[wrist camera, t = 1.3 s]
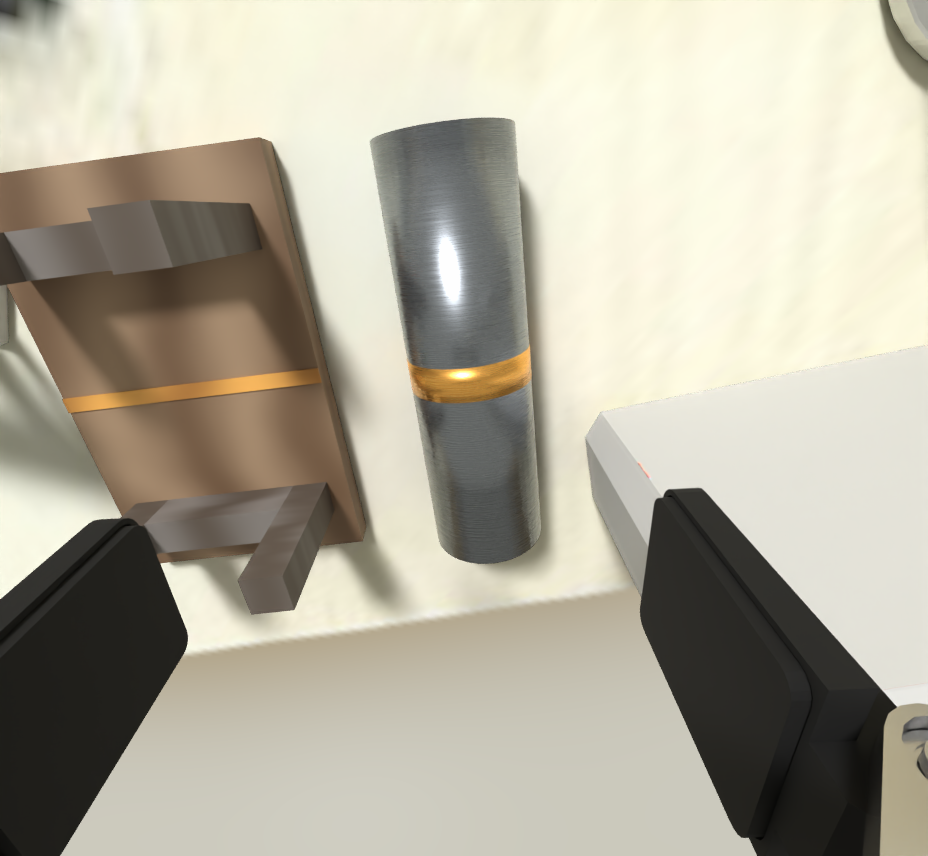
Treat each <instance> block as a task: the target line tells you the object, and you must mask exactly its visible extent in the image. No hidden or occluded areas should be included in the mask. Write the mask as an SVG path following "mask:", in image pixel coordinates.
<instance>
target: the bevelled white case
mask: <svg viewBox="0 0 928 856" xmlns="http://www.w3.org/2000/svg"><path fill="white" fill-rule="evenodd" d="M585 439H586V447H587V455H588V463H589V471H590V479H591V486H592V494H593V498H594V500H595V502H596V504H597V506H598V509H599V511H600V513H601V515H602V517H603V519H604V521H605V523H606V525H607V527H608V529H609V531H610V533H611V536H612V538H613V540H614V542H615V544H616V546H617V548H618V550H619V552H620V554H621V556H622V558H623V560H624V563H625V565H626V567H627V569H628V571H629V573H630V575H631V577H632V579H633V581H634V583H635V585H636V587H637V590H638V592H639V594H640V596H641V598H642V590H643V583H644V575H645V568H646V560H647V553H648V545H649V538H650V530H651V522H652V515H653V507H654V502H655V500H656V499H657V498H663V496H664V493H665V492H666V490H668V489H682V488H702V489H703V490H704V491H705V492H706V493H707V494H708V495H709V496H710V497H711V498H712V499H713V501H714V502H715V503H716V504H717V505H718V506H719V507H720V508H721V510H722V511H723V512H724V513H725V514H726V515H727V516H728V517H729V519H730V520H731V521H732V522H733V523H734V524H735V525H736V526H737V528H738V529H739V530H740V531H741V532H742V533H743V534H744V535H745V537H746V538H747V539H748V540H749V541H750V542H751V543H752V544H753V546H754V547H755V548H756V549H757V550H758V551H759V552H760V553H761V555H762V556H763V557H764V558H765V559H766V560H767V561H768V562H769V564H770V565H771V566H772V567H773V568H774V569H775V570H776V571H777V572H778V574H779V575H780V576H781V577H782V578H783V579H784V580H785V581H786V583H787V584H788V585H789V586H790V587H791V588H792V589H793V590H794V592H795V593H796V594H797V595H798V596H799V597H800V598H801V599H802V601H803V602H804V603H805V604H806V605H807V606H808V607H809V608H810V610H811V611H812V612H813V613H814V614H815V615H816V616H817V617H818V619H819V620H820V621H821V622H822V623H823V624H824V625H825V626H826V627H827V629H828V630H829V631H830V632H831V633H832V634H833V635H834V636H835V638H836V639H837V640H838V641H839V642H840V643H841V644H842V645H843V647H844V648H845V649H846V650H847V651H848V652H849V653H850V654H851V656H852V657H853V658H854V659H855V660H856V661H857V662H858V663H859V665H860V666H861V667H862V668H863V669H864V670H865V671H866V672H867V674H868V675H869V676H870V677H871V678H872V679H873V680H874V681H875V683H876V684H877V685H878V686H879V687H880V688H881V689H882V690H883V692H884V693H885V694H886V695H887V696H888V697H889V698H890V699H891V701H892V702H893V703H894V704H895V705H896V706H897V707H898V706H900V705H907V704H914V703H921V704H928V345H923V346H918V347H914V348H909V349H904V350H899V351H894V352H889V353H884V354H880V355H875V356H870V357H865V358H860V359H855V360H850V361H846V362H841V363H836V364H831V365H826V366H821V367H816V368H811V369H807V370H802V371H797V372H792V373H787V374H782V375H777V376H773V377H768V378H763V379H758V380H753V381H748V382H743V383H739V384H734V385H729V386H724V387H719V388H714V389H709V390H704V391H700V392H695V393H690V394H685V395H680V396H675V397H670V398H666V399H661V400H656V401H651V402H646V403H641V404H636V405H632V406H627V407H622V408H617V409H612V410H607V411H602V412H600V414H599V415H598V417H597V419H596V420H595V422H594V424H593V425H592V427H591V428H590V430H589V432H588V433H587V435H586V437H585Z"/></svg>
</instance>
